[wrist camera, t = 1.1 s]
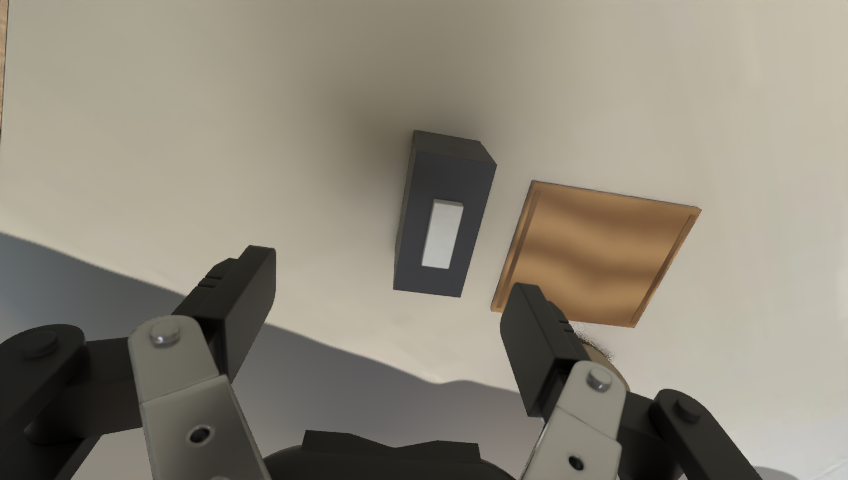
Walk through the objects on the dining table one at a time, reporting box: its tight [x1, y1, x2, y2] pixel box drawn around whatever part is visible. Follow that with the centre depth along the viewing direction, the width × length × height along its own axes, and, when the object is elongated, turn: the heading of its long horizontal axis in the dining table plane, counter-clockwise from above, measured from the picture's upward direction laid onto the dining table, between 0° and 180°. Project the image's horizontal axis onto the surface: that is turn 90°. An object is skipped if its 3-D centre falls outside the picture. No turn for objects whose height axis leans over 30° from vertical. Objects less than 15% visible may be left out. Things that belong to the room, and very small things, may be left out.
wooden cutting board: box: [491, 181, 702, 328], centre depth 36 cm, size 14×16×1 cm
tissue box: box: [393, 130, 497, 298], centre depth 29 cm, size 11×5×7 cm, turn 170°
